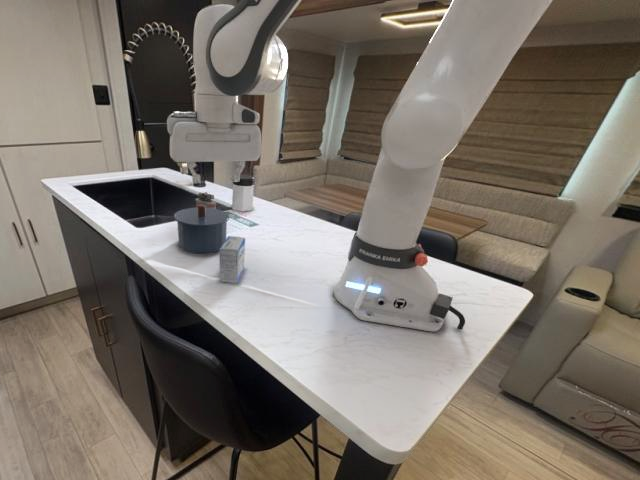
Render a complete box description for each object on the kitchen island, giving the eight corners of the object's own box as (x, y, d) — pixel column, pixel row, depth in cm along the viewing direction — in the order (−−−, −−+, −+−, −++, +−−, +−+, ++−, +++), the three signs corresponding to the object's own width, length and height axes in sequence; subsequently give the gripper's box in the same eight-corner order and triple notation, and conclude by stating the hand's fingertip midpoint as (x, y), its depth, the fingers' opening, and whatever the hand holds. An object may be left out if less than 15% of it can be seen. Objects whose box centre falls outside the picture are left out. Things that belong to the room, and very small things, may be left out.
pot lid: (237, 216, 88) (238, 203, 86) (213, 233, 77) (213, 217, 74) (192, 208, 93) (192, 195, 91) (163, 222, 81) (161, 207, 79)
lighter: (193, 221, 107) (192, 191, 101) (200, 218, 109) (199, 189, 103) (211, 226, 103) (211, 196, 97) (218, 224, 105) (218, 194, 100)
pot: (233, 242, 92) (234, 214, 88) (212, 260, 82) (212, 229, 77) (194, 234, 96) (194, 207, 92) (169, 249, 86) (167, 219, 81)
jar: (253, 212, 118) (255, 179, 112) (231, 211, 118) (233, 178, 111) (251, 205, 126) (253, 174, 119) (231, 204, 125) (232, 173, 119)
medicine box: (237, 284, 71) (239, 250, 67) (218, 282, 72) (219, 247, 67) (243, 269, 78) (245, 237, 73) (226, 267, 79) (227, 235, 74)
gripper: (168, 111, 58) (174, 187, 65) (266, 114, 64) (261, 183, 72) (163, 110, 63) (169, 180, 70) (254, 113, 69) (251, 177, 77)
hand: (216, 182), depth 71 cm, fingers open, 8 cm apart
